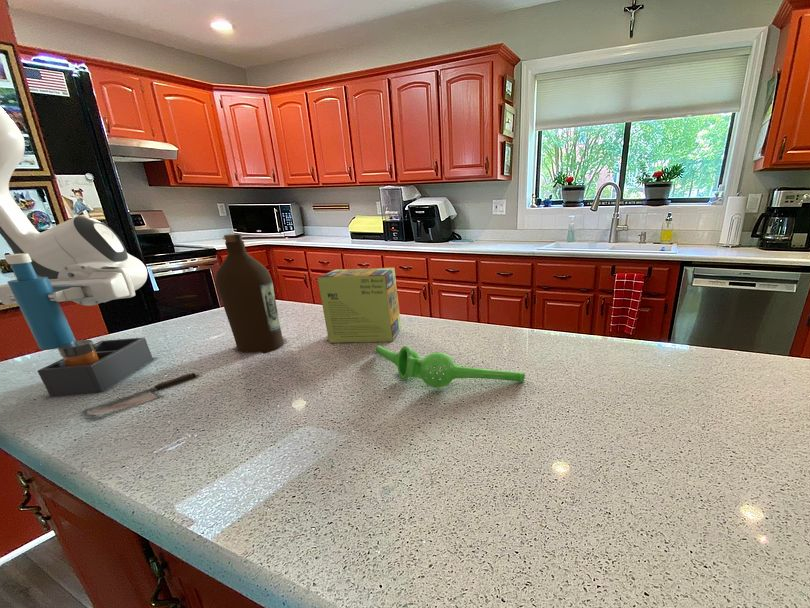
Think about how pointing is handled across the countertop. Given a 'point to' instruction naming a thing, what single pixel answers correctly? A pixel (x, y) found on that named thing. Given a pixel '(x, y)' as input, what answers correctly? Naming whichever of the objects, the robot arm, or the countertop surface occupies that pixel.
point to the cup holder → (97, 368)
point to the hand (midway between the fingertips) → (32, 298)
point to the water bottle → (38, 304)
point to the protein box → (360, 305)
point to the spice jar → (78, 353)
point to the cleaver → (140, 396)
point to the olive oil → (248, 299)
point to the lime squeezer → (421, 368)
